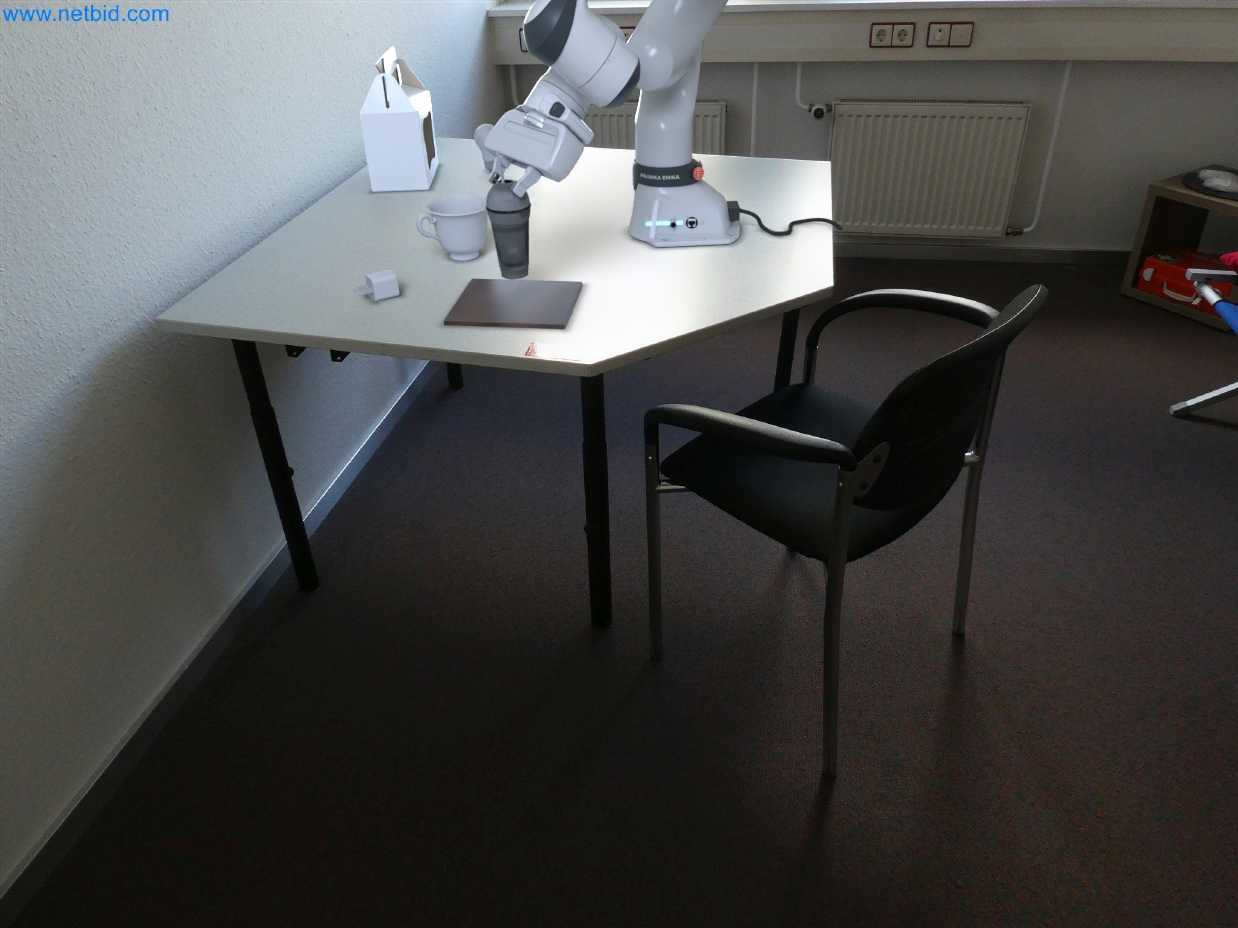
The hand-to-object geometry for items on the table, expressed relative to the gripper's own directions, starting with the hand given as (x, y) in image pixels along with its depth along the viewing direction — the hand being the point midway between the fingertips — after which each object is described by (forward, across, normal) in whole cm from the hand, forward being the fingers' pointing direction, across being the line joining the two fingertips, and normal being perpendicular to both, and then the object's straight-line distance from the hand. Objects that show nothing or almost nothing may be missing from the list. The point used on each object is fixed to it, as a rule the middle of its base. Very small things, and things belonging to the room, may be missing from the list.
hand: (503, 189), depth 142 cm
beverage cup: (+10, 0, +11) cm, 15 cm away
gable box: (0, -82, +28) cm, 87 cm away
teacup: (+12, -27, +16) cm, 33 cm away
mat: (+14, 0, +14) cm, 20 cm away
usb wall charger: (+26, -18, +2) cm, 32 cm away
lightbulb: (-13, -74, +41) cm, 85 cm away
